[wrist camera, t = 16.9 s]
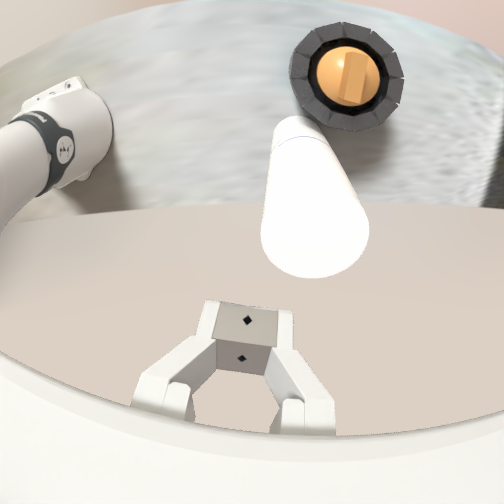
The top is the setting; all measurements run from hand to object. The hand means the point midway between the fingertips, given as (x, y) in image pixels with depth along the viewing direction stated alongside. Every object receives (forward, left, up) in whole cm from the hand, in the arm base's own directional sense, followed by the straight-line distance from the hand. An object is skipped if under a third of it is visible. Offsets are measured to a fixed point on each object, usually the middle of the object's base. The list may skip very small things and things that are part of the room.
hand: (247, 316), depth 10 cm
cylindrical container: (+4, -2, -34) cm, 35 cm away
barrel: (+7, +8, -34) cm, 36 cm away
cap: (+7, +8, -26) cm, 28 cm away
